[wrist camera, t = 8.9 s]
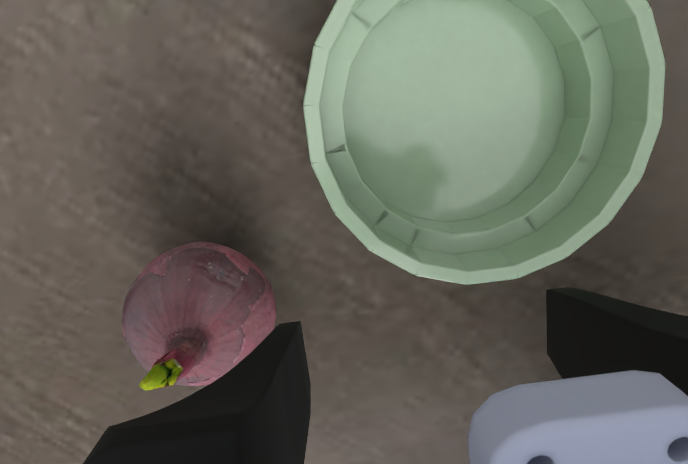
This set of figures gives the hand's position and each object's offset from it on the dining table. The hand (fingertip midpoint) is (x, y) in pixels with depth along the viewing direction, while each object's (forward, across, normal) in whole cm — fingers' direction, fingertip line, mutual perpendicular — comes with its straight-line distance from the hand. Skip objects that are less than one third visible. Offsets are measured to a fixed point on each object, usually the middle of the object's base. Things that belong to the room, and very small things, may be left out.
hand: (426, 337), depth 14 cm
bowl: (+10, -4, -6) cm, 12 cm away
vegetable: (+10, +8, +1) cm, 13 cm away
